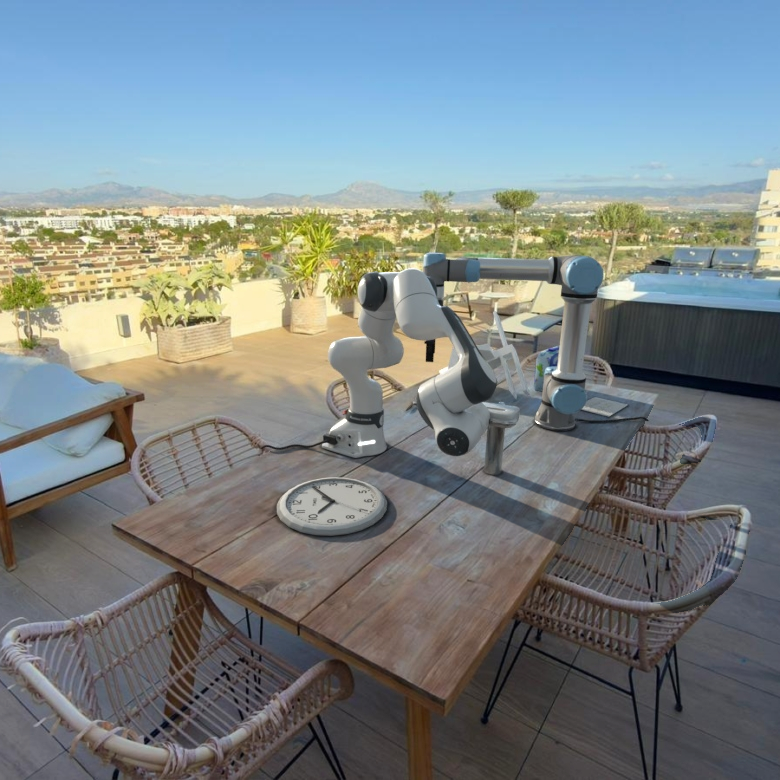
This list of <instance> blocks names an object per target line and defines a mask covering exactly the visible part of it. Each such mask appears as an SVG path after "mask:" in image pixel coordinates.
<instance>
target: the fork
mask: <svg viewBox="0 0 780 780" xmlns="http://www.w3.org/2000/svg"><path fill="white" fill-rule="evenodd" d="M414 405H417V404H416V397H414V398H413V400H412V404H410V405H408V407H407V408H406V410H405V411H409V410H411V409H412V408H413V406H414Z"/></svg>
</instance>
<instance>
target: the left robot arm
mask: <svg viewBox="0 0 780 780" xmlns="http://www.w3.org/2000/svg"><path fill="white" fill-rule="evenodd" d="M357 299H358V303H359V305H360V306H361V308H360V311H359V315H358V319H357V324H358V328H359V330H360V332H361V333H362V334H363V335H364V336H351V337H344V338H340V339H337V340H334V341H332V342H331V344H330V345H329V347H328V349H327V360H328V362H329V365H330V366H331V367H332V369H333V370H335V371H336V372H338V373H339V374H340V375H341V376H342V377H343V379H344V380H345V382H346V384H347V387H348V396H349V405H348V407H346V408H345V410H344V411H342V415H343V416H344V415H345V416H344V418H342V419H341V420H339V421H338V422H336V423H334V424H333V425H332V426H331V428H330V430H329V432H328V433H327V432H326V433H325V434H323V435H322V441H319V442H316V443H313V444H309V445H306V444H305V445H304V444H296V443H295V444H294V443H293V444H290V445H286V446H281V447H276V446H274V445H271V444H264V445H262V446H261V447H260V450H263V449H265V448H270V449H273V450H276V451H281V450H286V449H289V448H294V447H299V448H306V449H310V448H314V447H317V446H320V445H321V448H322V449H324V450H327V451H331V452H334V453H336V454H341V455H343V456H347V457H350V458H354V459H359V458H362V457H369V456H377V455H380V454H382V453H384V452H385V451H386V450H387V448H388V445H387V443H386V439H385V432H384V424H385V409H384V407H383V406H384V405H383V403H384V401H383V400H384V390H383V387H382V385H381V384H380V382H378V381H377V380H375V379H373V378H370V377H369V376H368V371H369V370H378V369H387V368H389V367H393V366H397V365H399V364H400V363H401V362H402V360H403V358H404V354H405V348H404V344H403V342H402V341H401V339H400V338H399V337H398V336H396V335H395V333H394V327H395V324H396V321H397V324H398V326H399V329H400V330H401V332H402V333H403V334H404V335H405V336H407V337H408V338H410V339H413V340H416V341H426V340H433V339H435V340H437V339H441V338H448V339H449V341H450V343H451V345H452V347H453V346H454V348H455V350H456V352H457V354H458V355H459V361H458V362H457V364H456V365H454V366H453V367H451V368H450V369H448V370H446V371H444V372H442V373H441V374H440V373H439V374H437V375H435V376H433V377H431V378H429V379H428V380H426V381H424V382H423V383H421V384H419V385H418V388H417V391H416V396H415V400H416V404H415V405H416V409H417V411H418V414H419V415H420V417H421V418H422V420H423V422H424V423H425V424H426V425H427V426H428V427H429V428H430V429H432V430H433V431H434V437H435V444H436V445H437V447H438V448H439V450H440V451H441V452H443V454H444V455H445V454H446V455H448V456H450V457H463V456H465V455H467V454H468V453H470V452H471V451H473V449H474V448H475V447H476V446H477V445H478V443H479V442H480V440H481V438H482V437H483V435H484V434H485V433H486V432H487V428H488V426H495V427H501V428H505V429H511V428H513V427H515V426H516V425H517V423H518V422H519V421H520V413H521V412H520V411H521V410H520V408H519V407H518V406H515V405H509V404H506V403H505V401H498V402H497V403H495V402H487V401H488V400H491V399H492V398H493V396H494V394H495V393H496V389H497V385H498V379H497V375H496V373H495V370H492V368H491V367H490V365H489V364H488V363H487V362H486V360H485V359H484V357H483V356H482V354H481V353H480V351H479V349H478V348H477V346H478V345H477V344H476V342H475V340H474V339H473V337H472V336H471V334H470V332H469V330H468V329H467V328H466V326H465V324H464V323H463V321H462V319H461V318H460V316H459V315H458V314H457V313H456V311H454V310H453V309H452V308H451V307H449V306H448V305H445V306H444V305H443V306H440V304H439V302H438V299H437V286H436V283H435V282H434V280H433V279H432V278H431V277H429V276H426V275H425V274H424V273H423V270H421V269H417V268H406V269H403V270H401V271H397V272H396V271H395V272H393V271H392V272H390V271H386V272H378V271H371V272H366V273H365V274H363V275H362V276H361V278H360V279H359V282H358V286H357Z"/></svg>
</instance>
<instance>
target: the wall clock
mask: <svg viewBox="0 0 780 780" xmlns="http://www.w3.org/2000/svg"><path fill="white" fill-rule="evenodd" d="M387 509H388V500H387V498H386V496H385V494H384V493H383V492H382V491H381V490H380V489H379V488H377V487H376V486H374V485H372V484H371V483H369V482H365V481H362V480H359V479H355V478H349V477H338V476H337V477H335V476H333V477H332V476H331V477H322V478H317V479H312V480H307V481H305V482H302V483H299V484H297V485H295V486H293V487H292V488H290V489H288V490H287V491H286V492H285V493H284V494H283V495H281V496H280V498H279V499H278V502H277V503H276V515H277V517H278V518H279V520H280V521H281V522H282V523H283V524H285V525H286V526H287V527H288V528H290V529H293V530H295V531H297V532H299V533H303V534H308V535H312V536H327V537H328V536H329V537H331V536H332V537H333V536H342V535H350V534H352V533H356V532H361V531H363V530H366V529H368V528H369V527H372V526H373V525H375V524H376V523H378V522H379V521H380V520H381V519H382V518H383V517H384V516H385V514H386V512H387Z"/></svg>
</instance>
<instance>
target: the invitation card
mask: <svg viewBox="0 0 780 780" xmlns="http://www.w3.org/2000/svg"><path fill="white" fill-rule="evenodd" d="M628 406H629V404H627V403H623V402H618V401H614V400H609V399H605V398H601V397H596V396H593V397H592V398H590V399H587V401H586V404H585V406H584V407H583V408H582V409H581V410H580V411H584V412H587V413H593V414H596V415H600V416H604V417H608V418H609V417H611V416H613V415H614V414H616V413H617V412H619V411H621V410H623V409H624V408H626V407H628Z"/></svg>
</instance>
